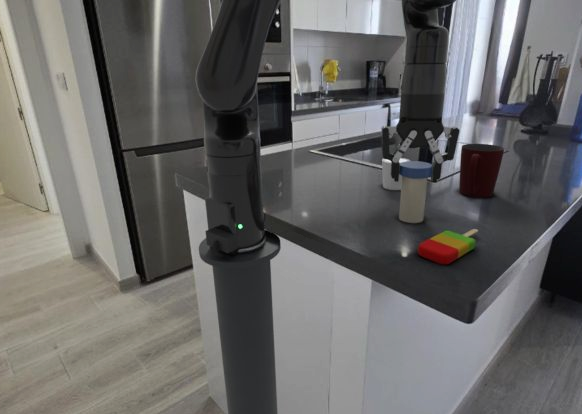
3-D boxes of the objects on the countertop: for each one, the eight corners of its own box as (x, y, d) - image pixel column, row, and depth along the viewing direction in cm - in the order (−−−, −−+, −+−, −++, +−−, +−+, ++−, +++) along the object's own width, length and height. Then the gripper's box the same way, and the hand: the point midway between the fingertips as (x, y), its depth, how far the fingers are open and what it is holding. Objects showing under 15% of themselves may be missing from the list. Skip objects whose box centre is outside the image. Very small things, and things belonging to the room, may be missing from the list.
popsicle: (414, 254, 62) (415, 244, 61) (461, 230, 71) (462, 220, 70) (445, 267, 58) (447, 256, 57) (491, 239, 67) (492, 229, 66)
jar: (418, 225, 73) (423, 171, 70) (394, 219, 76) (398, 168, 72) (427, 217, 77) (432, 166, 73) (404, 212, 80) (408, 163, 76)
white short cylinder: (393, 192, 92) (396, 164, 90) (374, 185, 98) (376, 159, 95) (413, 187, 96) (416, 160, 93) (394, 181, 101) (396, 155, 99)
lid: (424, 180, 69) (425, 170, 69) (393, 175, 73) (394, 165, 72) (436, 173, 74) (437, 163, 73) (406, 168, 77) (407, 159, 76)
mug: (488, 205, 83) (497, 155, 79) (447, 198, 88) (453, 150, 84) (499, 191, 92) (507, 146, 88) (461, 185, 97) (467, 142, 93)
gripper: (383, 92, 65) (378, 185, 71) (470, 92, 63) (458, 187, 69) (380, 90, 72) (376, 175, 78) (459, 89, 70) (449, 176, 76)
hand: (414, 180), depth 74 cm, fingers open, 6 cm apart
